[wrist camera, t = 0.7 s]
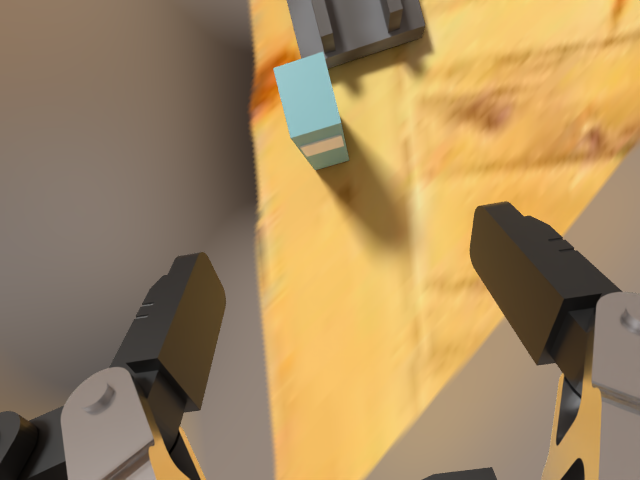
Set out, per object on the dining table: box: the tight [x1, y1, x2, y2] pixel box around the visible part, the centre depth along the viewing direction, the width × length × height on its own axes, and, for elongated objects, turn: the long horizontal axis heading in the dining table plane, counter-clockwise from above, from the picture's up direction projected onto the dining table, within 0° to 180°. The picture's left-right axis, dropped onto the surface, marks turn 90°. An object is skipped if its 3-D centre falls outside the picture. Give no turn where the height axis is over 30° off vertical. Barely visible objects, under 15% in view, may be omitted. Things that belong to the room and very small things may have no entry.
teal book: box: [273, 52, 349, 170], centre depth 31 cm, size 4×6×12 cm
